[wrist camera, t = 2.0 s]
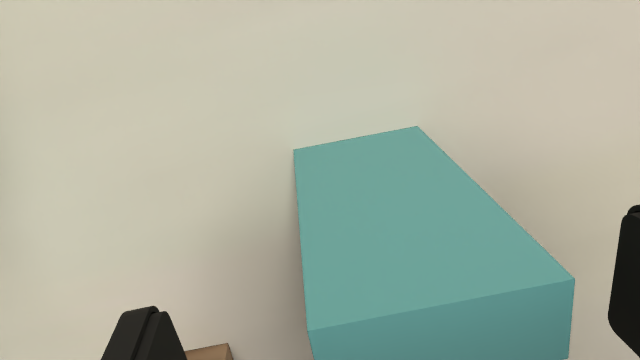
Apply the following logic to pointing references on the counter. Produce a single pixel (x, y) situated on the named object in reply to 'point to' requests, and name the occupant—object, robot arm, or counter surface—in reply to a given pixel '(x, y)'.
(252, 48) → the counter surface
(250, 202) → the counter surface
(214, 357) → the domino
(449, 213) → the domino
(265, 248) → the counter surface
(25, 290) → the counter surface
